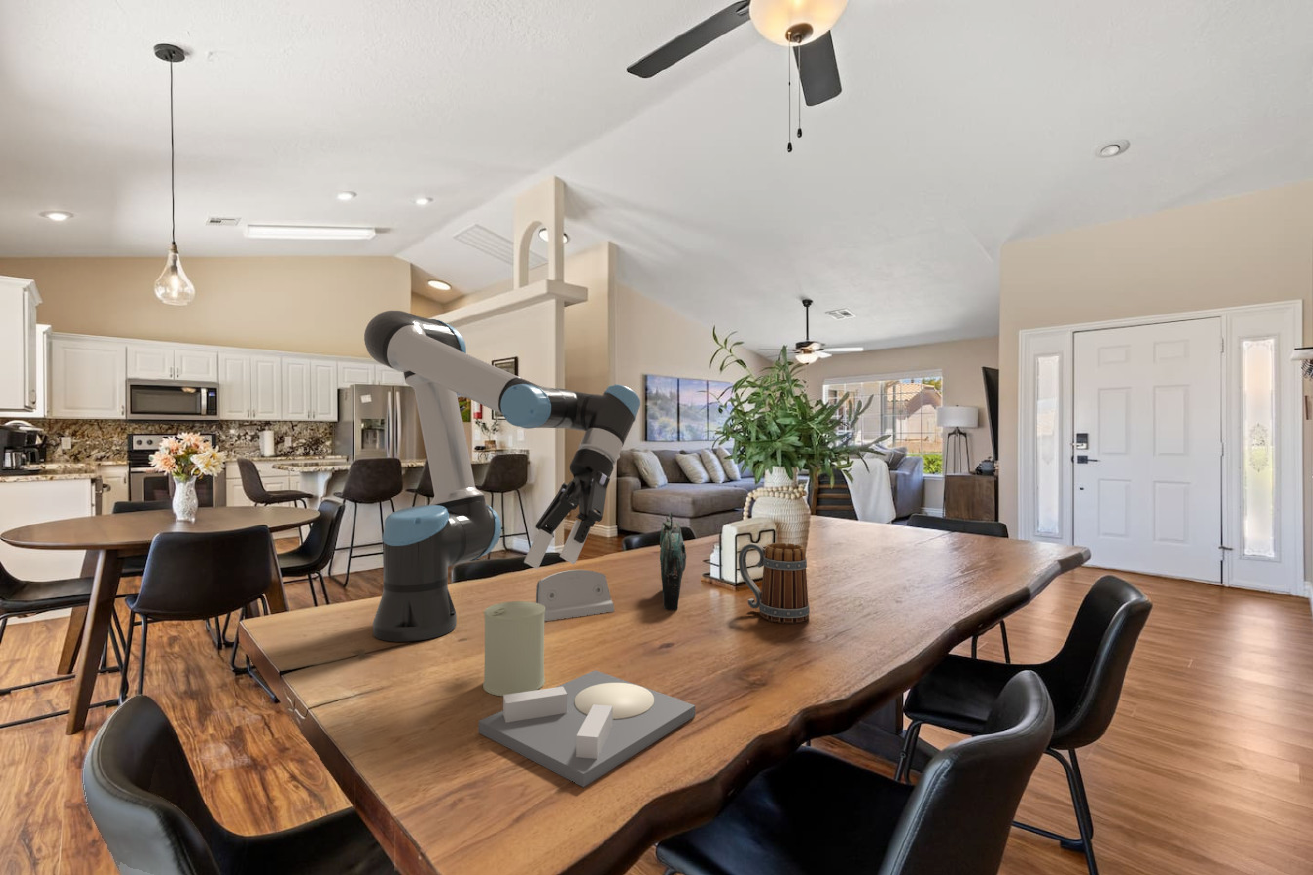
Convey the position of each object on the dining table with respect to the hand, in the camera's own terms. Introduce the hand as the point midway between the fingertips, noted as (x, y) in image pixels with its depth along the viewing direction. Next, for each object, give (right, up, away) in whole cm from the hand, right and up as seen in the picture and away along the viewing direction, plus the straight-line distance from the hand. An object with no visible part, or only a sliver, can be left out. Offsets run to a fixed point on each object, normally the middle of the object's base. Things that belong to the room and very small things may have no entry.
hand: (548, 563), depth 102 cm
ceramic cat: (+22, -17, +40) cm, 48 cm away
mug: (+43, -17, +28) cm, 54 cm away
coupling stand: (+9, -17, -21) cm, 29 cm away
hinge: (0, -17, +29) cm, 33 cm away
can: (-4, -17, -9) cm, 19 cm away
